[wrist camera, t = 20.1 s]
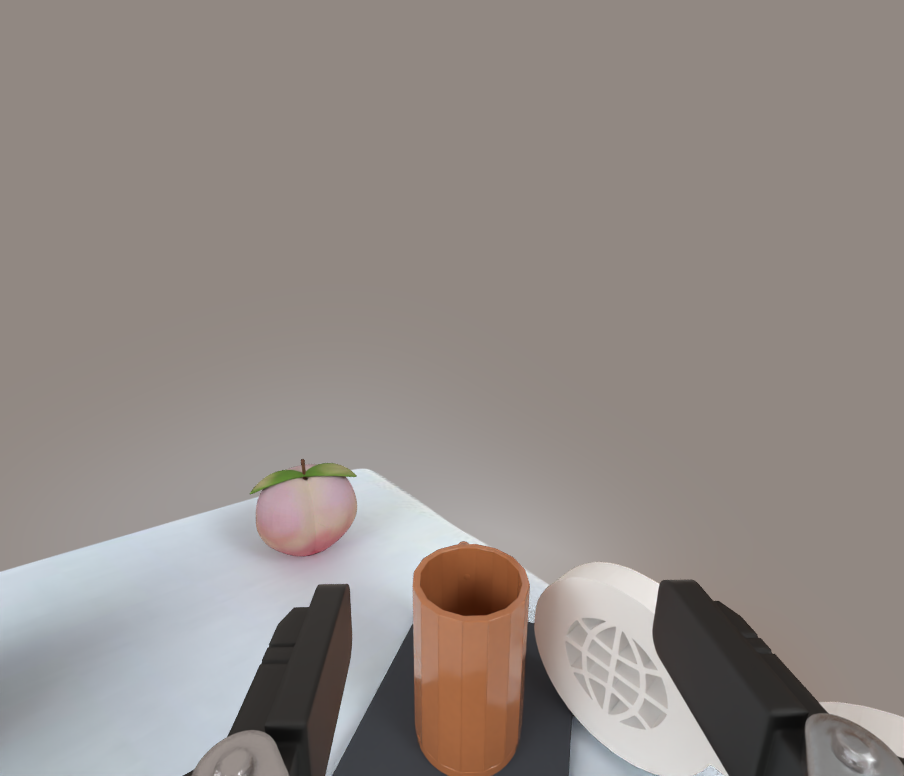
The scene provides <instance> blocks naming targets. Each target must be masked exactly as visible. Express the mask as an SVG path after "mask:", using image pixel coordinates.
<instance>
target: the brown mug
mask: <svg viewBox="0 0 904 776" xmlns="http://www.w3.org/2000/svg"><path fill="white" fill-rule="evenodd" d="M529 589H530V584H529V581H528V578H527V574H526V571H525V569H524V568H523V567H522V566H521V565H520V564H519V563H518V562H517V561H516V560H515V559H514V558H513V557H511V556H510V555H508V554H506V553H504V552H502V551H500V550H498V549H495V548H492V547H487V546H482V545H478V544H468V543H467V542H465V541H462V542H460V543H459V544H458V545H453V546H449V547H446V548H442V549H438V550H436V551H435V552H433V553H432V554H430V555H428V556H427V557H425V558H424V559H423V560H422V561H421V562H420V564H419V565H418V567H417V568H416V570H415V571H414V575H413V636H414V692H415V728H416V735H417V739H418V743H419V746H420V748H421V750H422V752H423V753H424V755H425V757H426V758H427V759H428V760H429V762H430V763H431V764H432V765H433V766H434V767H435V768H437V769H438V770H439V771H441V772H442V773H444V774H446V775H448V776H492V775H494V774H496V773H497V772H499V771H500V770H501V769H503V768H504V767H505V766H506V765H507V764H508V763H509V761H510V760H511V759H512V757H513V756H514V754H515V752H516V750H517V747H518V744H519V740H520V731H521V725H522V711H523V694H524V676H525V659H526V642H527V624H528V607H529Z"/></svg>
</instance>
